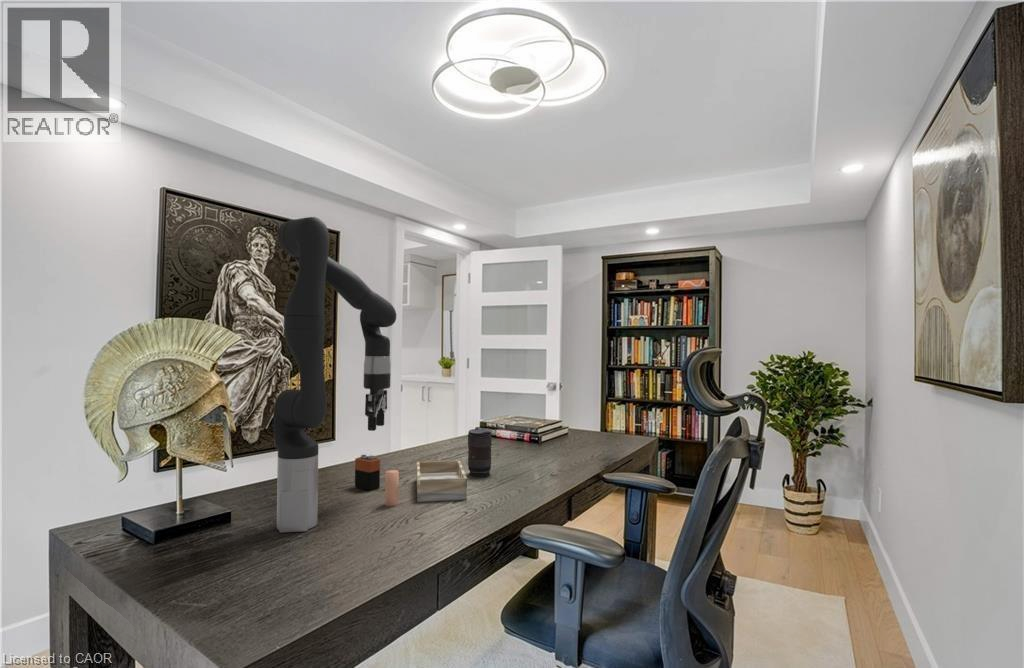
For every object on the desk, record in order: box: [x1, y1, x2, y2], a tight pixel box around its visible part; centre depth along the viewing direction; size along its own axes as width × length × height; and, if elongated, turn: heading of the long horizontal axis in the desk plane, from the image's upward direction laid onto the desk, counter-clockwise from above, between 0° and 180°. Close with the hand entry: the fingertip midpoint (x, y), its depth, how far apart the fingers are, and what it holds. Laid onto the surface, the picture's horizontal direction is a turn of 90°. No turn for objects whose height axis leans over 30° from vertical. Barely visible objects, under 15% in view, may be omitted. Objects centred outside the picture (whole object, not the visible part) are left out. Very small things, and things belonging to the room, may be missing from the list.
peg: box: [384, 469, 400, 507], centre depth 142 cm, size 4×4×9 cm
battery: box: [354, 454, 381, 492], centre depth 158 cm, size 4×7×10 cm, turn 58°
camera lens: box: [467, 428, 493, 478], centre depth 174 cm, size 8×8×15 cm
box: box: [416, 460, 468, 503], centre depth 157 cm, size 22×14×6 cm, turn 11°
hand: (376, 428), depth 148 cm, fingers open, 8 cm apart
